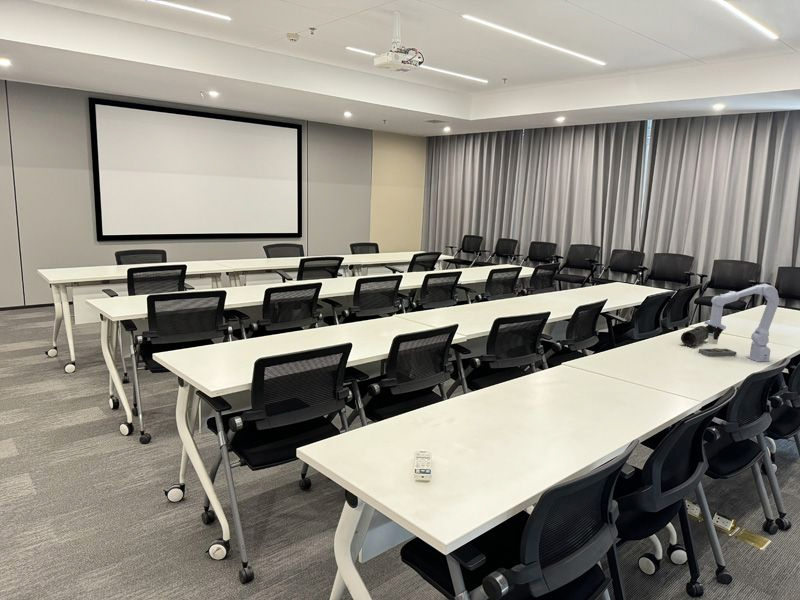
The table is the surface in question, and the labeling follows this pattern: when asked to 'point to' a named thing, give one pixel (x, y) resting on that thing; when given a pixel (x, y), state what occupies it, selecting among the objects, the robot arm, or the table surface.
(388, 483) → the table surface
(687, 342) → the muzzle brake
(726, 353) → the socket board
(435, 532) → the table surface
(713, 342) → the grey plug
